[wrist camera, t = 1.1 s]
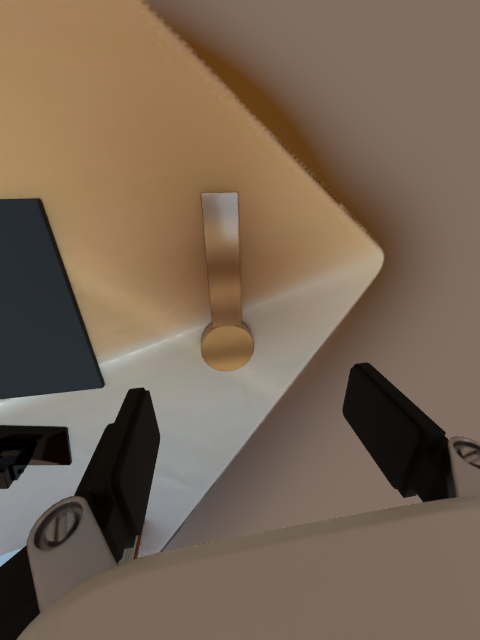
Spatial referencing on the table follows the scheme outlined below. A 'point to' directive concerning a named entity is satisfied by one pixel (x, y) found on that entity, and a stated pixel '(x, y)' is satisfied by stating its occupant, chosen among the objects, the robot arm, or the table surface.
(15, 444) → the black block on plate
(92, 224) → the table surface
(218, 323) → the wooden disc with bar
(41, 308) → the mat
